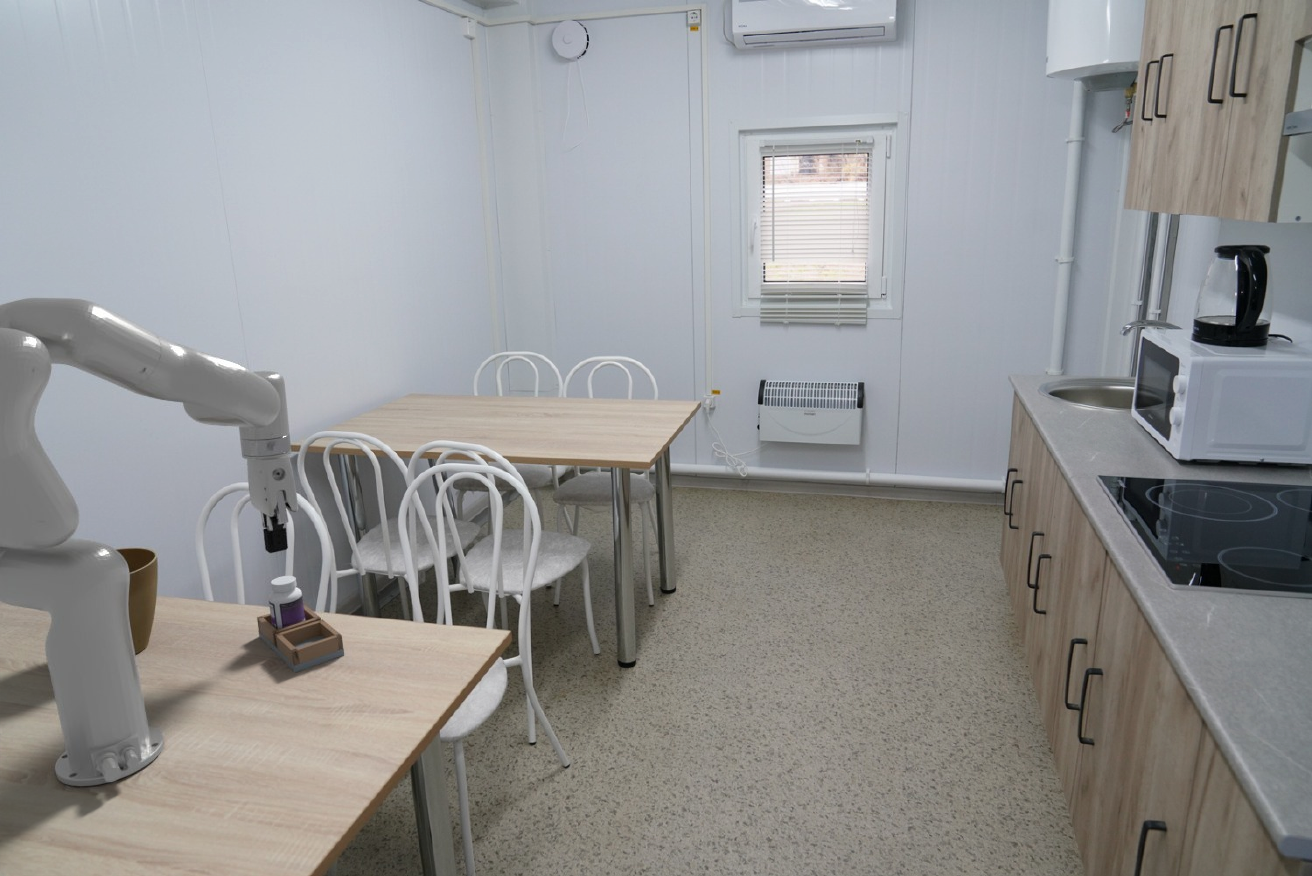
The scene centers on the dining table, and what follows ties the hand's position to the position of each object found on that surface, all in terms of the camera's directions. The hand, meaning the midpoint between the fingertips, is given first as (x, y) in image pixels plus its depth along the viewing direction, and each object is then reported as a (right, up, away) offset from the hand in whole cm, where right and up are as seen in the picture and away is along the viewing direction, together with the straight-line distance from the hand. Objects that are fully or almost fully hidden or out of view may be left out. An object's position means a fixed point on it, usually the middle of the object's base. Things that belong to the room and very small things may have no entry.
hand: (276, 549), depth 144 cm
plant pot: (-27, -18, +1) cm, 32 cm away
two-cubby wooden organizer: (+3, -17, +2) cm, 17 cm away
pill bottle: (0, -15, +5) cm, 16 cm away
